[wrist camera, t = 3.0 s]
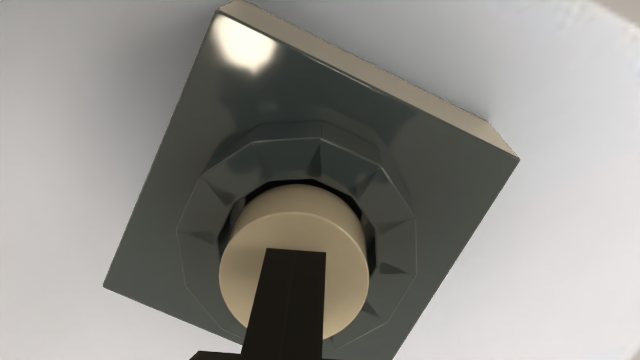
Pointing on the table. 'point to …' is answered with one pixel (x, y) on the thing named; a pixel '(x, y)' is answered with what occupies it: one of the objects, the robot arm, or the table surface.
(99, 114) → the table surface
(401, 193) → the button housing
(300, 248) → the beige round knob
